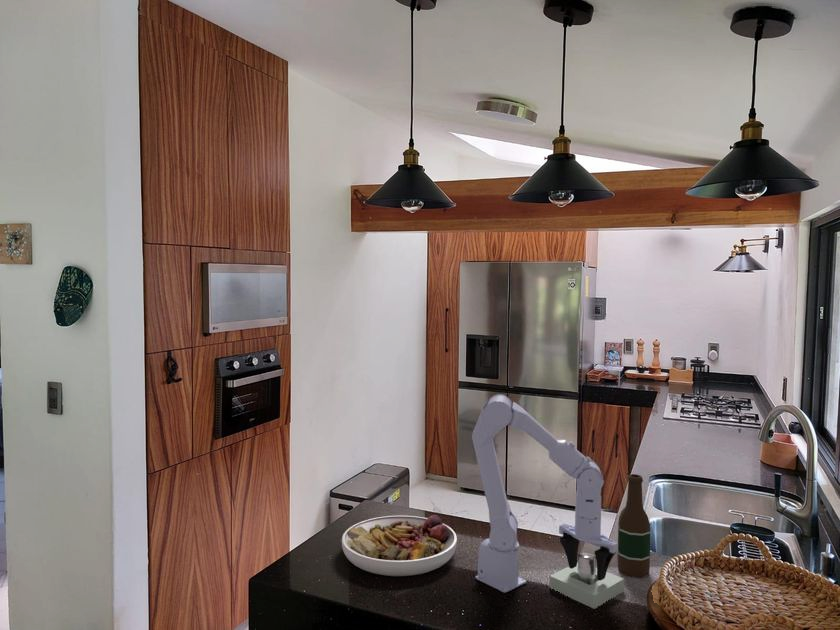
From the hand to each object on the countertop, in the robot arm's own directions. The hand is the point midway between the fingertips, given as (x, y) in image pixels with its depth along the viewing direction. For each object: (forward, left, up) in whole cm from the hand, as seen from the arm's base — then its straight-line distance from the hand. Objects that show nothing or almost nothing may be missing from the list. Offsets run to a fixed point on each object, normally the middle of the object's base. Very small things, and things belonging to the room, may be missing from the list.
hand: (586, 572), depth 142 cm
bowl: (-43, -21, -5) cm, 48 cm away
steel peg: (0, 0, -4) cm, 4 cm away
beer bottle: (+2, +17, -4) cm, 18 cm away
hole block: (0, 0, -4) cm, 4 cm away
